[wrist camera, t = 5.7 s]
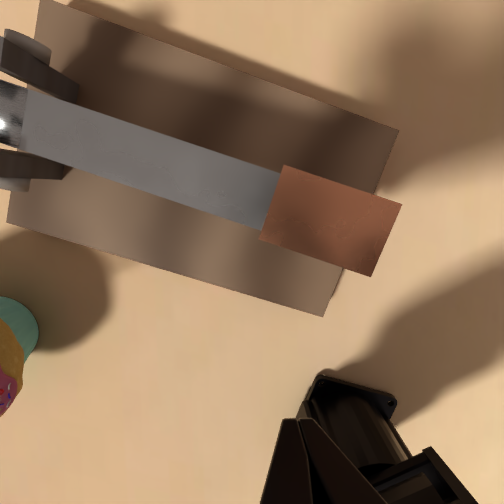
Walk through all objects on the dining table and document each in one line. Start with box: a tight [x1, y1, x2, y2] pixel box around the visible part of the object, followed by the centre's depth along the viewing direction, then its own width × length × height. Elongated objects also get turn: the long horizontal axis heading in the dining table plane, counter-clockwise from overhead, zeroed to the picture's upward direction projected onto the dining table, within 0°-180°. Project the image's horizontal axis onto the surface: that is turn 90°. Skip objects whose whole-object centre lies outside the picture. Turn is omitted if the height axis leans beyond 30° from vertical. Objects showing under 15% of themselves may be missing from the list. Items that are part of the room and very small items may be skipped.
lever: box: [0, 80, 402, 277], centre depth 13 cm, size 18×3×2 cm, turn 72°
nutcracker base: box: [0, 0, 399, 317], centre depth 15 cm, size 20×12×6 cm, turn 72°
